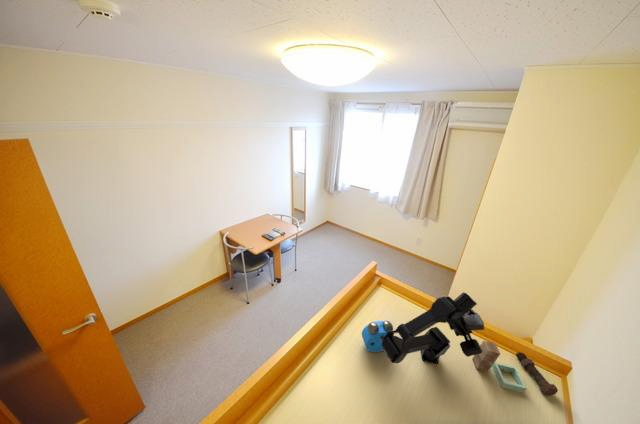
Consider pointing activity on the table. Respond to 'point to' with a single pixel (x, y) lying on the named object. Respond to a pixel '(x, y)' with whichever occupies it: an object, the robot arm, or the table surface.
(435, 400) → the table surface
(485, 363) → the peg
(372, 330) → the alarm clock
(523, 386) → the collar
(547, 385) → the bolt
